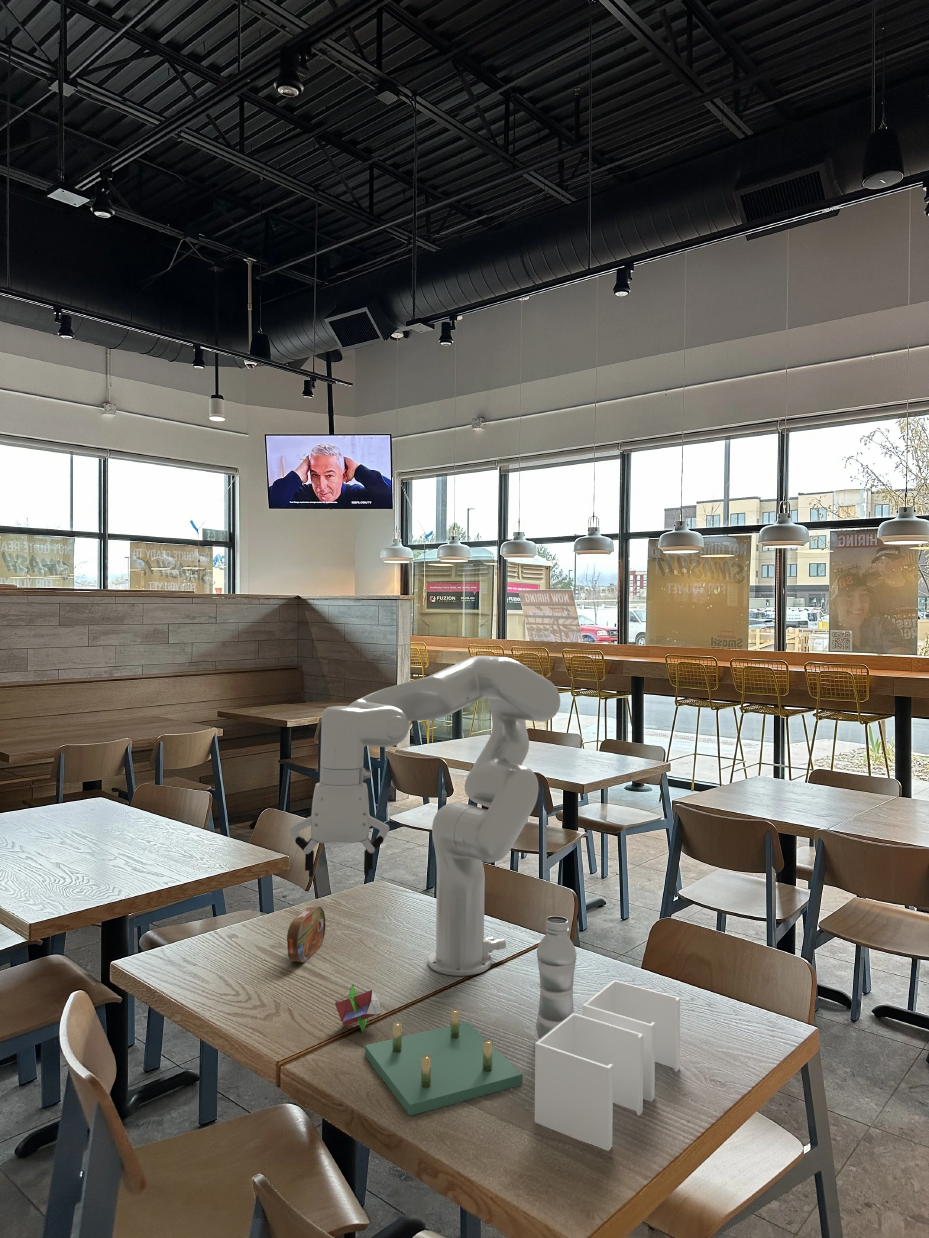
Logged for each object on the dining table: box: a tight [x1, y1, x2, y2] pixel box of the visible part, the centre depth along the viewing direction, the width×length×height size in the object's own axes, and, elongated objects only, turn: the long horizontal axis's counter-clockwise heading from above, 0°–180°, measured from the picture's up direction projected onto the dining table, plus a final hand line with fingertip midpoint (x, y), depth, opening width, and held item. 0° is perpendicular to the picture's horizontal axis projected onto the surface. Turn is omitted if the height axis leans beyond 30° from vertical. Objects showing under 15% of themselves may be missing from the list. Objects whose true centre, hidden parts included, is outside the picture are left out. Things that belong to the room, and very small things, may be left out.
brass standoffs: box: [392, 1009, 493, 1088], centre depth 129 cm, size 11×12×4 cm
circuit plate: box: [364, 1021, 524, 1116], centre depth 129 cm, size 18×18×2 cm
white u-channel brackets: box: [534, 979, 681, 1151], centre depth 122 cm, size 25×11×11 cm, turn 145°
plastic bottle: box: [535, 915, 577, 1041], centre depth 137 cm, size 6×7×20 cm
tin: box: [286, 905, 326, 964], centre depth 172 cm, size 15×3×8 cm, turn 168°
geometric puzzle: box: [334, 983, 382, 1035], centre depth 141 cm, size 7×7×8 cm
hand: (338, 874), depth 149 cm, fingers open, 9 cm apart
